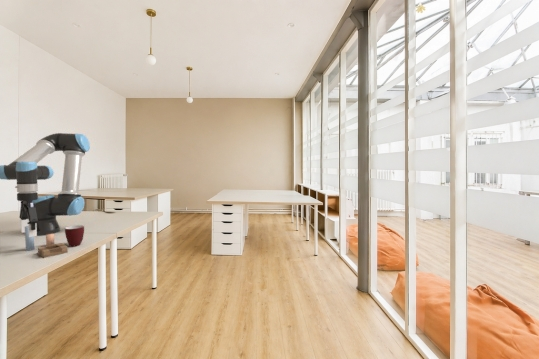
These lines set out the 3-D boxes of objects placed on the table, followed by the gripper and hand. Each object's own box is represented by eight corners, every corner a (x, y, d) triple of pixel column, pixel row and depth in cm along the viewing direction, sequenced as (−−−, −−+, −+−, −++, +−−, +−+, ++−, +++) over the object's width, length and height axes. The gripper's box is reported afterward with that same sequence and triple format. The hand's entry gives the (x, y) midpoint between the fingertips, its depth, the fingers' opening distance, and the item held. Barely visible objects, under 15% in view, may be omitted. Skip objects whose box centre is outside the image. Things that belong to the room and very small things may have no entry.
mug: (64, 244, 136) (64, 225, 135) (83, 241, 142) (82, 223, 141) (66, 249, 128) (65, 229, 128) (85, 245, 134) (84, 227, 133)
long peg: (25, 249, 126) (23, 226, 125) (33, 248, 129) (32, 225, 128) (26, 251, 124) (25, 227, 124) (35, 249, 127) (34, 226, 126)
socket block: (37, 253, 121) (37, 247, 121) (61, 248, 129) (60, 243, 128) (43, 257, 116) (43, 251, 116) (67, 252, 124) (67, 246, 123)
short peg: (45, 245, 133) (45, 234, 132) (53, 244, 136) (52, 233, 135) (47, 246, 131) (47, 235, 131) (55, 245, 134) (54, 234, 133)
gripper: (10, 191, 129) (12, 232, 130) (24, 194, 115) (25, 240, 116) (30, 190, 135) (31, 229, 136) (45, 193, 121) (46, 236, 122)
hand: (28, 234), depth 126 cm, fingers open, 13 cm apart
